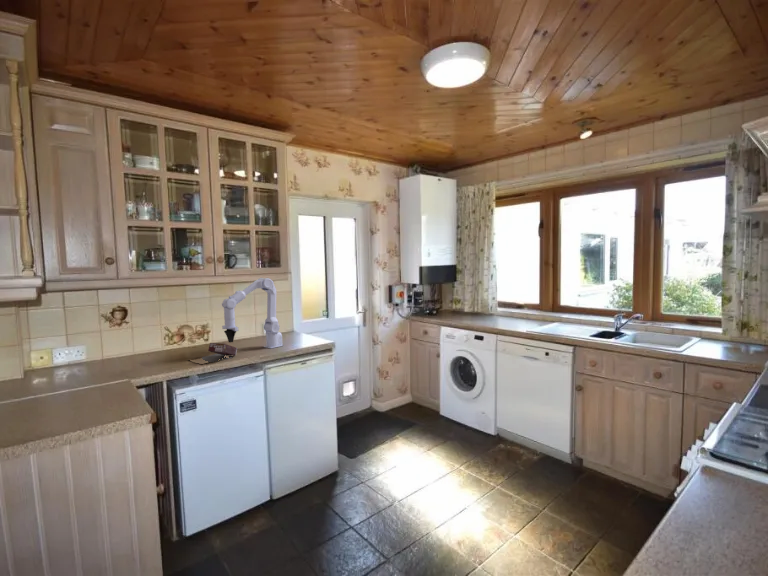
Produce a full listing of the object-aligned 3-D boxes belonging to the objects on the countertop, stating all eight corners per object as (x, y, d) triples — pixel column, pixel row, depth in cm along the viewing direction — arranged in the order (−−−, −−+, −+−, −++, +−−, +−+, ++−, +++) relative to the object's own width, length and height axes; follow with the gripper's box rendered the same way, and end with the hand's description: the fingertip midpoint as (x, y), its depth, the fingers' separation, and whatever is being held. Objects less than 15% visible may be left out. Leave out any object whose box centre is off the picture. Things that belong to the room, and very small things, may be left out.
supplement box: (237, 347, 224) (224, 343, 209) (236, 355, 223) (223, 352, 208) (223, 346, 225) (209, 342, 210) (221, 355, 224) (207, 351, 208)
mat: (218, 354, 228) (218, 353, 228) (233, 357, 218) (233, 357, 218) (187, 360, 214) (187, 360, 214) (201, 365, 204) (201, 364, 204)
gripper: (216, 319, 226) (218, 341, 227) (229, 321, 217) (231, 344, 218) (228, 317, 231) (229, 339, 232) (241, 319, 222) (242, 342, 223)
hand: (230, 342), depth 225 cm, fingers closed
